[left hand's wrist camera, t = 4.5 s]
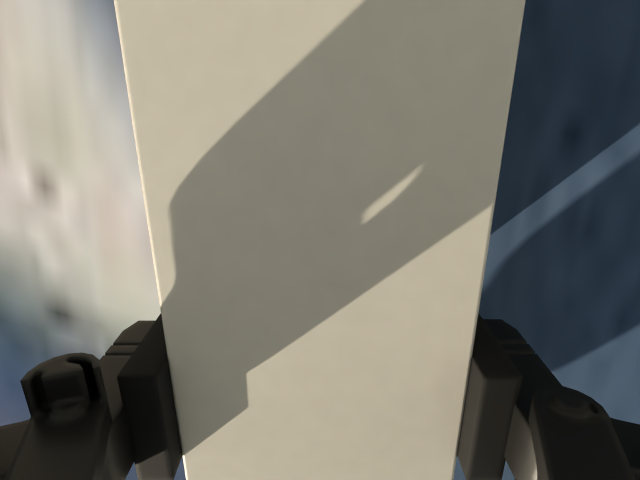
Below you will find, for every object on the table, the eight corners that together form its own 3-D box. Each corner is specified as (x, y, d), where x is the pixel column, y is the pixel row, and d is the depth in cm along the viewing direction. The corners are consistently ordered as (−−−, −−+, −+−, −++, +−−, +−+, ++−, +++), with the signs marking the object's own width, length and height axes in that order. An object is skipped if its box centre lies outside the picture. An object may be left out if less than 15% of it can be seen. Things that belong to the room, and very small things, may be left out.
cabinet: (233, -60, 15) (55, -365, 5) (405, -59, 15) (584, -365, 5) (256, 316, 21) (194, 543, 10) (382, 316, 21) (445, 542, 10)
